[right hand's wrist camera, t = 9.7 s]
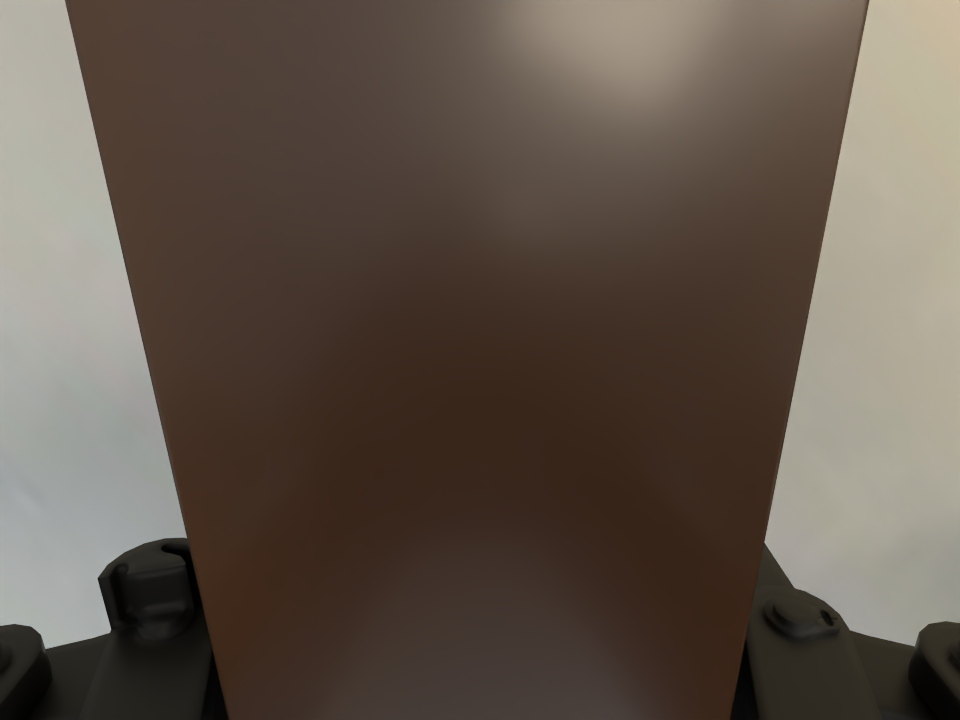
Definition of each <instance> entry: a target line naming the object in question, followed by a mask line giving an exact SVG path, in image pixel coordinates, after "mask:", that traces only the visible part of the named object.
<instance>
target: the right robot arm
mask: <svg viewBox="0 0 960 720" xmlns="http://www.w3.org/2000/svg"><path fill="white" fill-rule="evenodd" d="M98 582H99V585H100V589H101V593H102V596H103V600H104V604H105V608H106V611H107V615H108V619H109V622H110V626H111V632H110V633H108V634H105V635H102V636H98V637H95V638H91V639H87V640H83V641H79V642H74V643H70V644H66V645H61V646H57V647H53V648H49V649H45V646H44V643H43V640H42V637H41V635H40V634H39V633H38V632H37V631H36V630H34V629H33V628H32V627H30V626H23V625H17V624H12V625H4V626H0V720H228V715H227V711H226V706H225V702H224V698H223V693H222V689H221V684H220V680H219V676H218V671H217V667H216V662H215V658H214V654H213V649H212V645H211V640H210V636H209V632H208V627H207V623H206V618H205V614H204V610H203V605H202V601H201V596H200V592H199V588H198V583H197V579H196V574H195V570H194V566H193V561H192V557H191V552H190V548H189V544H188V539H186V538H165V539H161V540H157V541H153V542H149V543H145V544H142V545H140V546H138V547H136V548H133V549H131V550H129V551H127V552H125V553H123V554H122V555H120V556H119V557H118V558H116V559H115V560H114V561H112V562H111V563H109V564H108V565H107V566H106V568H105V569H104V570H103V572H102V573H101V575H100V576H99V577H98ZM730 720H960V623H954V622H947V621H945V622H939V623H932V624H928V625H927V626H926V627H925V628H924V629H923V630H921V631H920V632H919V635H918V638H917V641H916V644H915V647H914V646H910V645H905V644H901V643H897V642H892V641H888V640H884V639H879V638H875V637H871V636H867V635H863V634H860V633H857V632H853V631H850V630H849V628H848V627H847V625H846V624H845V622H844V620H843V619H842V617H841V616H840V614H839V613H837V612H836V611H835V610H834V609H833V608H832V607H830V606H829V605H828V604H827V603H826V602H824V601H823V600H821V599H819V598H817V597H815V596H813V595H811V594H809V593H807V592H805V591H802V590H798V589H795V588H794V587H793V585H792V584H791V582H790V581H789V579H788V578H787V576H786V575H785V573H784V572H783V570H782V569H781V567H780V566H779V564H778V563H777V561H776V560H775V558H774V557H773V555H772V554H771V552H770V551H769V549H768V548H767V546H766V545H765V543H764V546H763V551H762V556H761V561H760V566H759V572H758V577H757V582H756V587H755V592H754V597H753V602H752V608H751V613H750V618H749V623H748V628H747V633H746V639H745V644H744V649H743V654H742V659H741V664H740V670H739V675H738V680H737V685H736V690H735V695H734V700H733V706H732V711H731V716H730Z"/></svg>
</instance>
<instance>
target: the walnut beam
mask: <svg viewBox="0 0 960 720" xmlns="http://www.w3.org/2000/svg"><path fill="white" fill-rule="evenodd" d="M65 2H66V7H67V11H68V15H69V20H70V24H71V29H72V33H73V37H74V42H75V46H76V51H77V55H78V59H79V64H80V68H81V73H82V77H83V82H84V86H85V90H86V95H87V99H88V104H89V108H90V112H91V117H92V121H93V126H94V130H95V134H96V139H97V143H98V148H99V152H100V156H101V161H102V165H103V170H104V174H105V178H106V183H107V187H108V192H109V196H110V200H111V205H112V209H113V214H114V218H115V222H116V227H117V231H118V236H119V240H120V244H121V249H122V253H123V258H124V262H125V266H126V271H127V275H128V280H129V284H130V288H131V293H132V297H133V302H134V306H135V310H136V315H137V319H138V324H139V328H140V332H141V337H142V341H143V346H144V350H145V354H146V359H147V363H148V368H149V372H150V376H151V381H152V385H153V390H154V394H155V398H156V403H157V407H158V412H159V416H160V420H161V425H162V429H163V434H164V438H165V442H166V447H167V451H168V456H169V460H170V464H171V469H172V473H173V478H174V482H175V486H176V491H177V495H178V500H179V504H180V508H181V513H182V517H183V522H184V526H185V530H186V535H187V539H188V544H189V548H190V552H191V557H192V561H193V566H194V570H195V574H196V579H197V583H198V588H199V592H200V596H201V601H202V605H203V610H204V614H205V618H206V623H207V627H208V632H209V636H210V640H211V645H212V649H213V654H214V658H215V662H216V667H217V671H218V676H219V680H220V684H221V689H222V693H223V698H224V702H225V706H226V711H227V715H228V720H730V716H731V711H732V706H733V700H734V695H735V690H736V685H737V680H738V675H739V670H740V664H741V659H742V654H743V649H744V644H745V639H746V633H747V628H748V623H749V618H750V613H751V608H752V602H753V597H754V592H755V587H756V582H757V577H758V572H759V566H760V561H761V556H762V551H763V546H764V541H765V535H766V530H767V525H768V520H769V515H770V510H771V505H772V499H773V494H774V489H775V484H776V479H777V474H778V468H779V463H780V458H781V453H782V448H783V443H784V437H785V432H786V427H787V422H788V417H789V412H790V407H791V401H792V396H793V391H794V386H795V381H796V376H797V370H798V365H799V360H800V355H801V350H802V345H803V339H804V334H805V329H806V324H807V319H808V314H809V309H810V303H811V298H812V293H813V288H814V283H815V278H816V272H817V267H818V262H819V257H820V252H821V247H822V242H823V236H824V231H825V226H826V221H827V216H828V211H829V205H830V200H831V195H832V190H833V185H834V180H835V174H836V169H837V164H838V159H839V154H840V149H841V144H842V138H843V133H844V128H845V123H846V118H847V113H848V107H849V102H850V97H851V92H852V87H853V82H854V77H855V71H856V66H857V61H858V56H859V51H860V46H861V40H862V35H863V30H864V25H865V20H866V15H867V9H868V4H869V0H65Z"/></svg>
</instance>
